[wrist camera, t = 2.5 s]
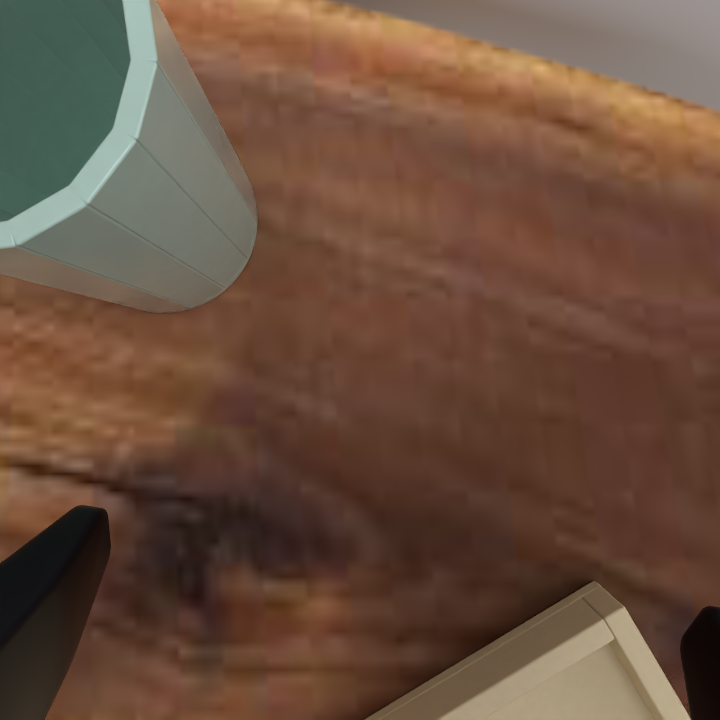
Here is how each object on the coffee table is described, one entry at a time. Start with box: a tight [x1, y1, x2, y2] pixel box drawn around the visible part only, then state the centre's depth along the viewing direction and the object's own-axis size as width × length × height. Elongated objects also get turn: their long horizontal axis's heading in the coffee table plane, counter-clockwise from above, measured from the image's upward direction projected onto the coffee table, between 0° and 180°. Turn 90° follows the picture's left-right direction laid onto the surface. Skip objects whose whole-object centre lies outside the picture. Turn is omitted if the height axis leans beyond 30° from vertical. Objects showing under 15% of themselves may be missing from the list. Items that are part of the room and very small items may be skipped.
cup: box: [0, 0, 258, 313], centre depth 17 cm, size 7×7×13 cm
